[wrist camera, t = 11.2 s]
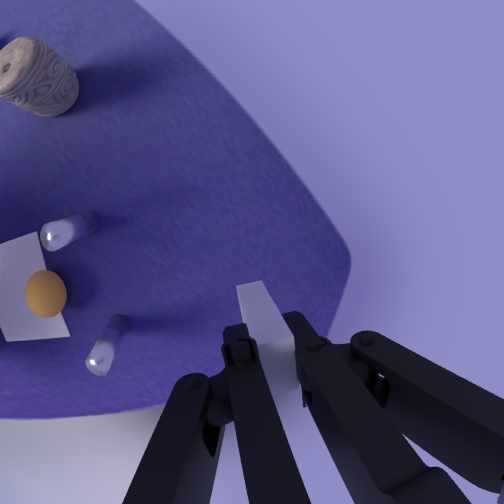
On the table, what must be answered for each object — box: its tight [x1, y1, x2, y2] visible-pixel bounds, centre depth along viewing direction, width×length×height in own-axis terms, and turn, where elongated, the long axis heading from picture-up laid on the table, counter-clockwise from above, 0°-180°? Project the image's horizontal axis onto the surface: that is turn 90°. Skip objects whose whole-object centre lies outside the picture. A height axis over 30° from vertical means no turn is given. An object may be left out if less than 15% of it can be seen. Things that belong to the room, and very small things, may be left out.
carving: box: [0, 36, 79, 117], centre depth 17 cm, size 6×8×12 cm
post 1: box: [40, 212, 100, 251], centre depth 23 cm, size 2×2×9 cm
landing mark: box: [0, 231, 71, 342], centre depth 27 cm, size 14×14×1 cm
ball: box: [25, 270, 67, 318], centre depth 25 cm, size 6×6×6 cm
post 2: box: [86, 315, 129, 376], centre depth 26 cm, size 2×2×9 cm
